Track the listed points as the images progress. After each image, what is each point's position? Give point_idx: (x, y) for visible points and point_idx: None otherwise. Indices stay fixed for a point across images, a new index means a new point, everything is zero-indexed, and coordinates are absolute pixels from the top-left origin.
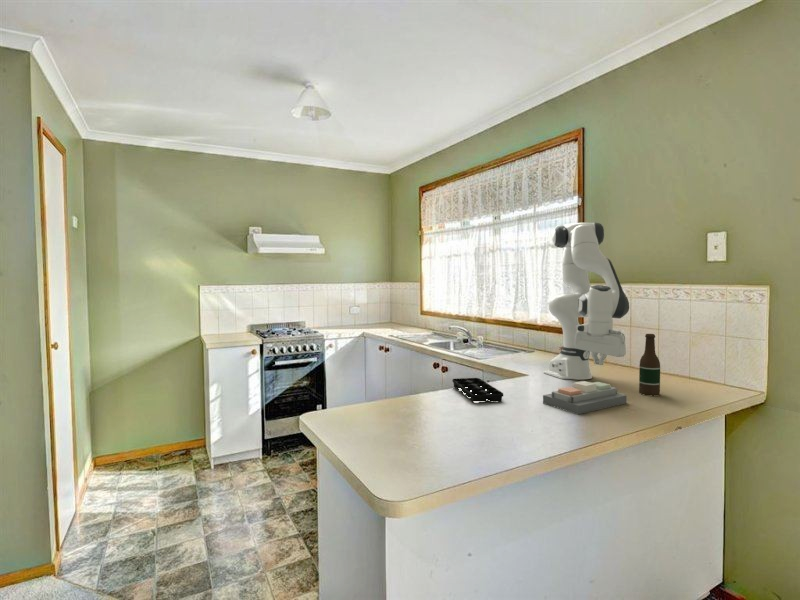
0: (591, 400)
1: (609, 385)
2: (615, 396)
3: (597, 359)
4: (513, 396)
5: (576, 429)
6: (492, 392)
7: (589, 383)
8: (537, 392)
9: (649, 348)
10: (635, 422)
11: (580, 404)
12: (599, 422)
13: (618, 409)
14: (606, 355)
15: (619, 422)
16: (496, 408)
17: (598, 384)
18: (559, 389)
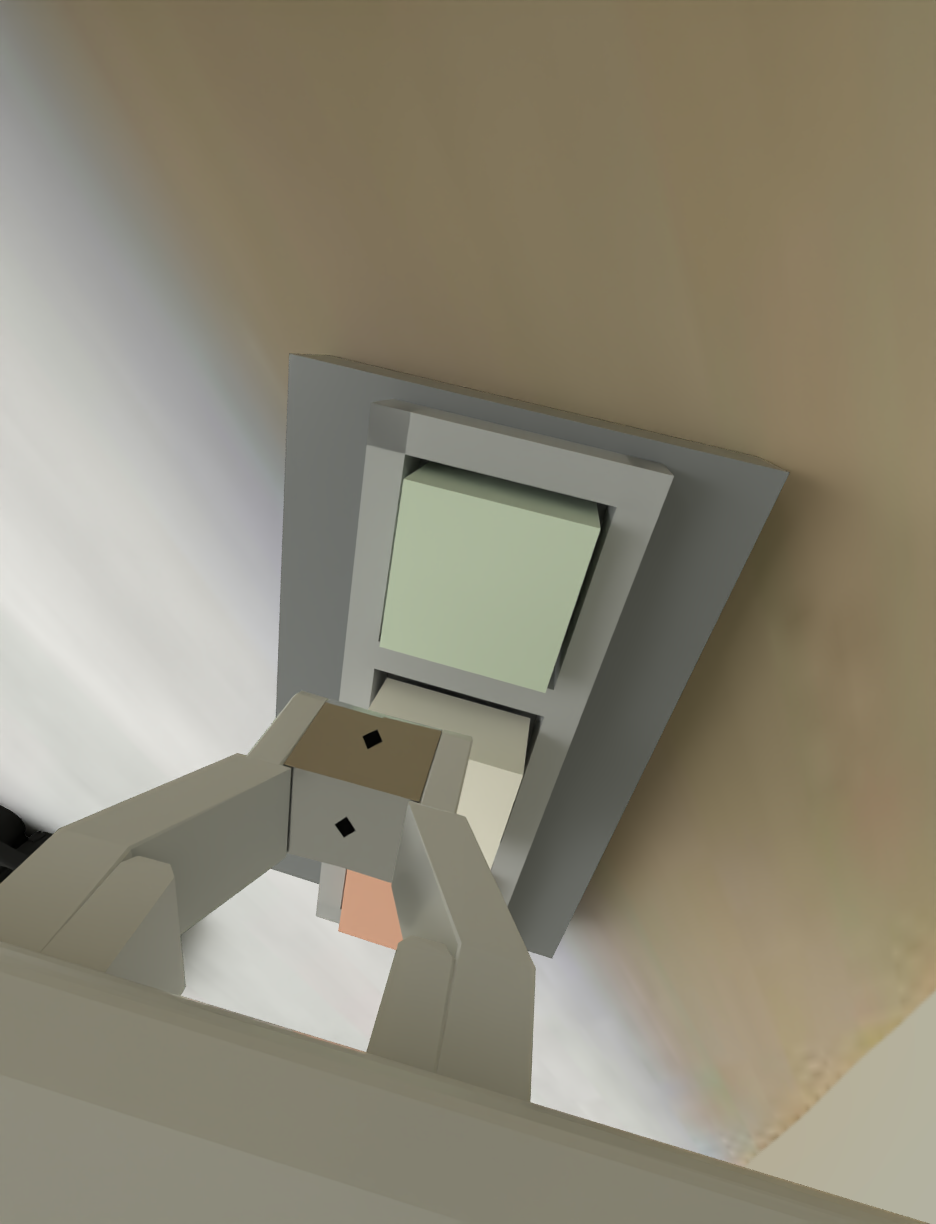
0: (565, 831)
1: (594, 544)
2: (689, 606)
3: (301, 812)
4: (109, 796)
5: (647, 1065)
6: (31, 844)
7: (462, 795)
8: (88, 634)
9: None
10: (909, 891)
11: (551, 936)
12: (705, 966)
13: (736, 692)
14: (532, 1006)
15: (809, 928)
16: (241, 978)
17: (486, 622)
18: (351, 931)
